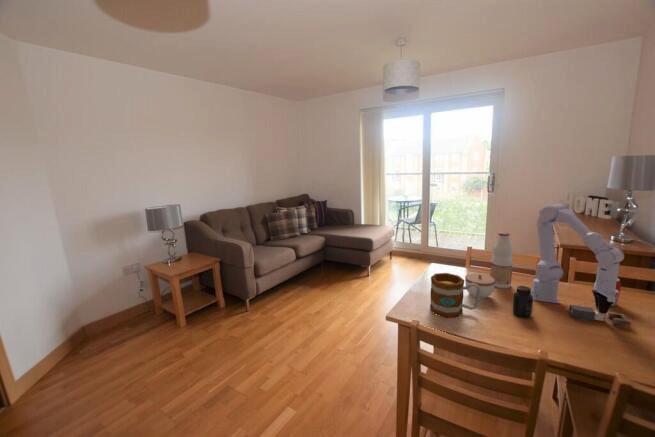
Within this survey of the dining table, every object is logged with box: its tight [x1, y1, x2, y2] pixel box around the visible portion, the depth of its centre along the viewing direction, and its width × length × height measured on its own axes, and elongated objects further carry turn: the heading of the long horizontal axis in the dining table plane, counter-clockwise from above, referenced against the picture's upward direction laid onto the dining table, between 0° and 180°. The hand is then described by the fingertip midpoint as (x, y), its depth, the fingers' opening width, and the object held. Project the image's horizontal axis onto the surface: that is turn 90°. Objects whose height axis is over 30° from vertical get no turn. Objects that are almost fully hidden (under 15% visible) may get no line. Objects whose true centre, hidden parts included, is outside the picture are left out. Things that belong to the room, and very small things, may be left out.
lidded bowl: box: [464, 272, 495, 300], centre depth 138 cm, size 13×13×11 cm
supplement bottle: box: [512, 285, 534, 319], centre depth 120 cm, size 7×7×12 cm
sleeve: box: [568, 304, 596, 323], centre depth 117 cm, size 7×4×4 cm, turn 63°
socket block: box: [606, 311, 632, 329], centre depth 112 cm, size 4×6×3 cm
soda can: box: [611, 277, 622, 307], centre depth 126 cm, size 7×7×12 cm
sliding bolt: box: [571, 309, 607, 322], centre depth 116 cm, size 10×3×8 cm, turn 63°
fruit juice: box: [489, 231, 515, 289], centre depth 147 cm, size 9×9×28 cm
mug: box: [429, 272, 480, 319], centre depth 125 cm, size 20×14×15 cm
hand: (601, 310), depth 114 cm, fingers closed on sliding bolt, 2 cm apart
